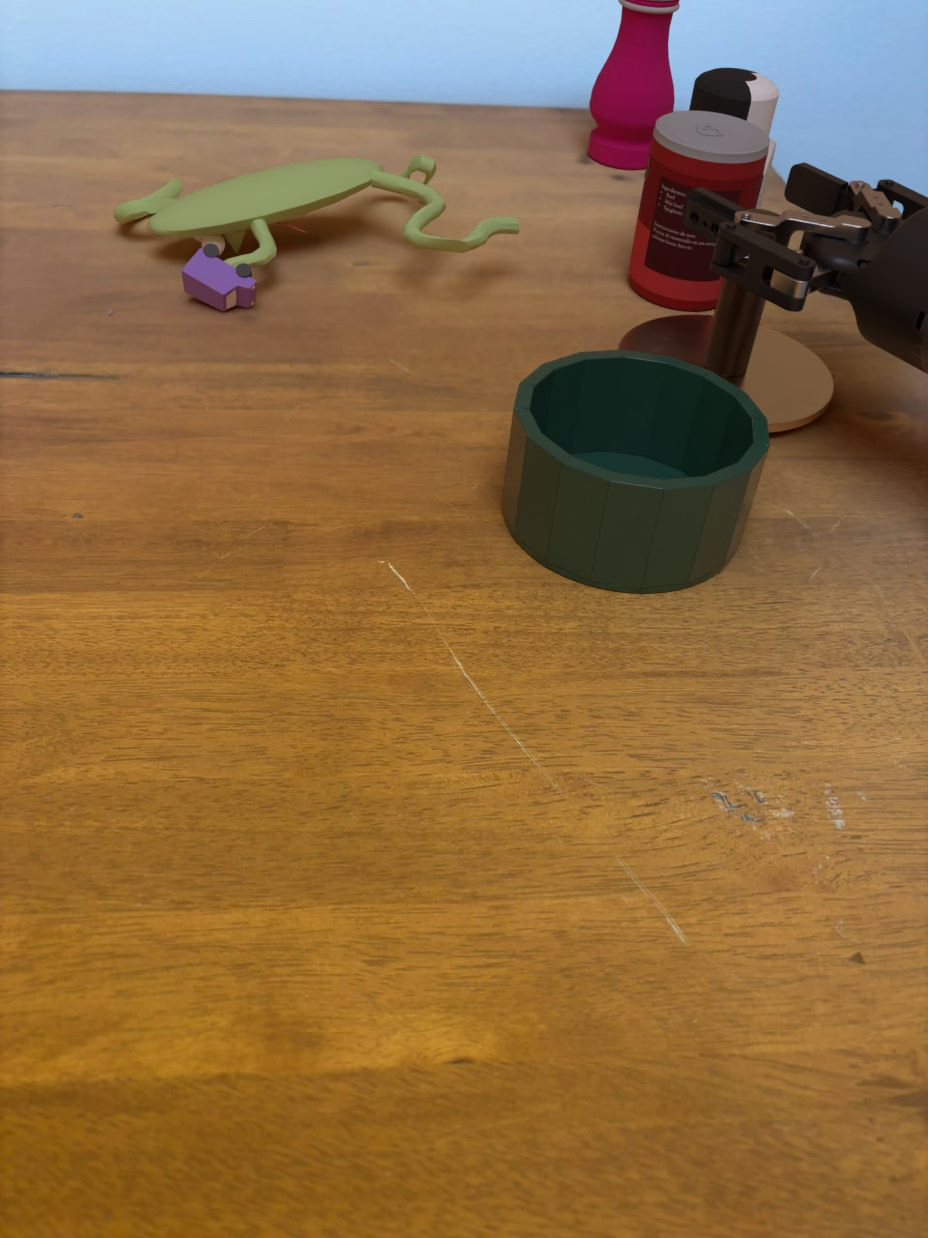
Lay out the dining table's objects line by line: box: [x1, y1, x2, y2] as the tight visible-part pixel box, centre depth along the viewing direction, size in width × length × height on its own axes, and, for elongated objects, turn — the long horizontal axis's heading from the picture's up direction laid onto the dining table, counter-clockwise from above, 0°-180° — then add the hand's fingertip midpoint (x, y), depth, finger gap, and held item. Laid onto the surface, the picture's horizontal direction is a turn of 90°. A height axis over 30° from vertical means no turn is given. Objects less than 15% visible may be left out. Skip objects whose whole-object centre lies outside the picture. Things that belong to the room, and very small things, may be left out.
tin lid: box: [616, 208, 835, 434], centre depth 69 cm, size 14×14×11 cm
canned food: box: [628, 110, 771, 312], centre depth 79 cm, size 8×8×11 cm
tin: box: [501, 349, 771, 594], centre depth 59 cm, size 13×13×6 cm
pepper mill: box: [587, 0, 681, 170], centre depth 94 cm, size 7×7×20 cm
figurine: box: [112, 153, 521, 312], centre depth 80 cm, size 18×27×6 cm
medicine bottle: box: [688, 67, 780, 209], centre depth 85 cm, size 7×7×12 cm
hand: (741, 191), depth 66 cm, fingers open, 8 cm apart
